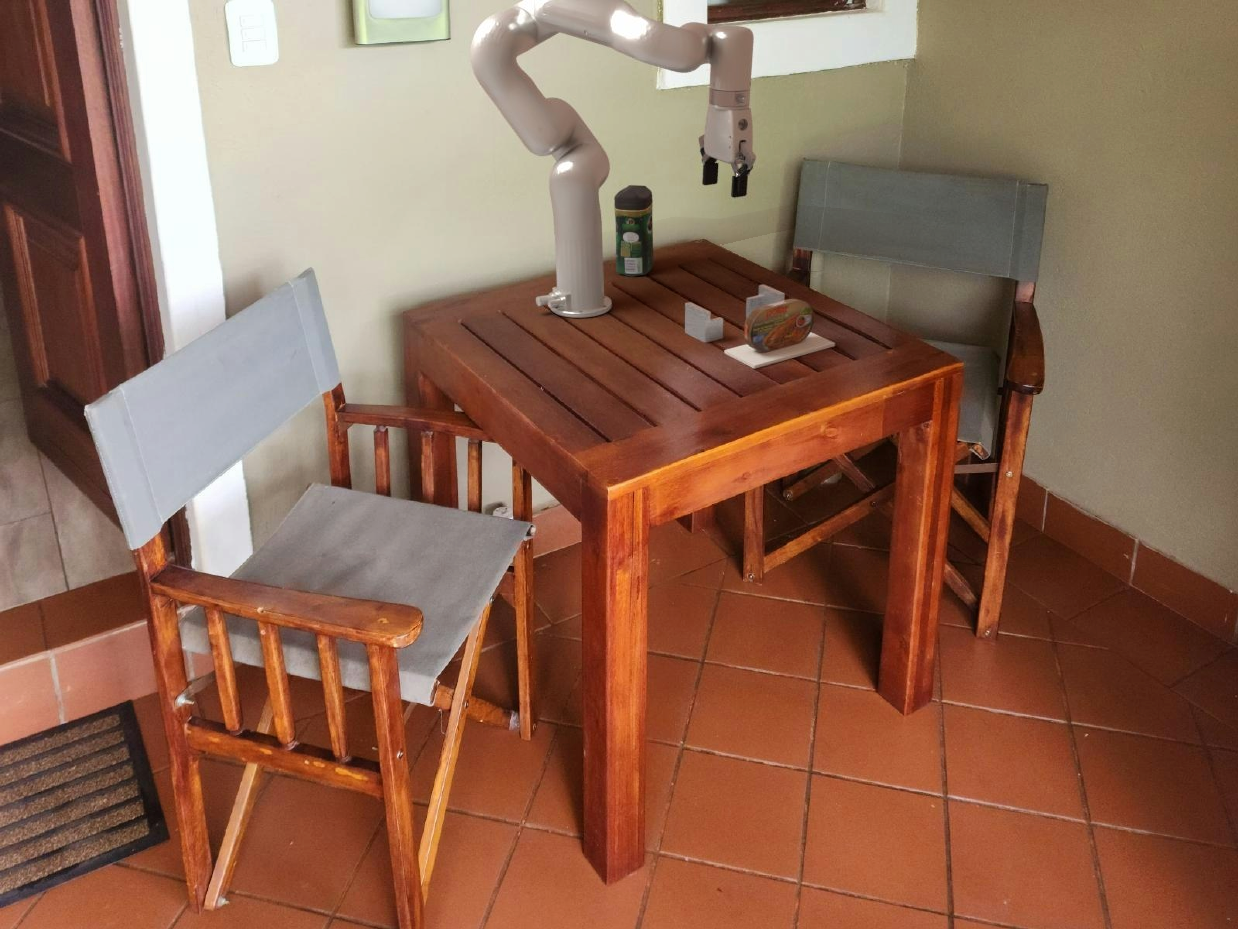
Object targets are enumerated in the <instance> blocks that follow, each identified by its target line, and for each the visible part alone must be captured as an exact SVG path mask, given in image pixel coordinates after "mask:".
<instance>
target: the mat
mask: <svg viewBox="0 0 1238 929" xmlns="http://www.w3.org/2000/svg"><path fill="white" fill-rule="evenodd" d="M833 347H836V343H835V342H833V341H832V340H829V339H827V338H824V337H822V336H820V335H818V334H816V333H814V332H812V331H811V332H810V334H809V335H808V336H807V338H806V339H805V340H803V341H802V342H800V343H798V344H795V345H791V346H787V347H784V348H780V349H777V350H774V351H771V352H767V353H762V352H759V351H757V350H755V349H753V348H751V347H750V346H749V345H748V344H747V343H746V344H742V345H739V346H738V345H737V346H735V347H731V348H727V349H725V350H723V351H724V352H723V353H724V354H725V355H727V356H728V357H731V358H733V359H735V360H736V361H738V362H740V363H742V364H744V365H747V366H748V367H750V368H752V369H758V368H762V367H765V366H769V365H772V364H776V363H780V362H783V361H788V360H790V359H793V358H797V357H800V356H805V355H807V354H812V353H815V352H819V351H822V350H826V349H828V348H833Z"/></svg>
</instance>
